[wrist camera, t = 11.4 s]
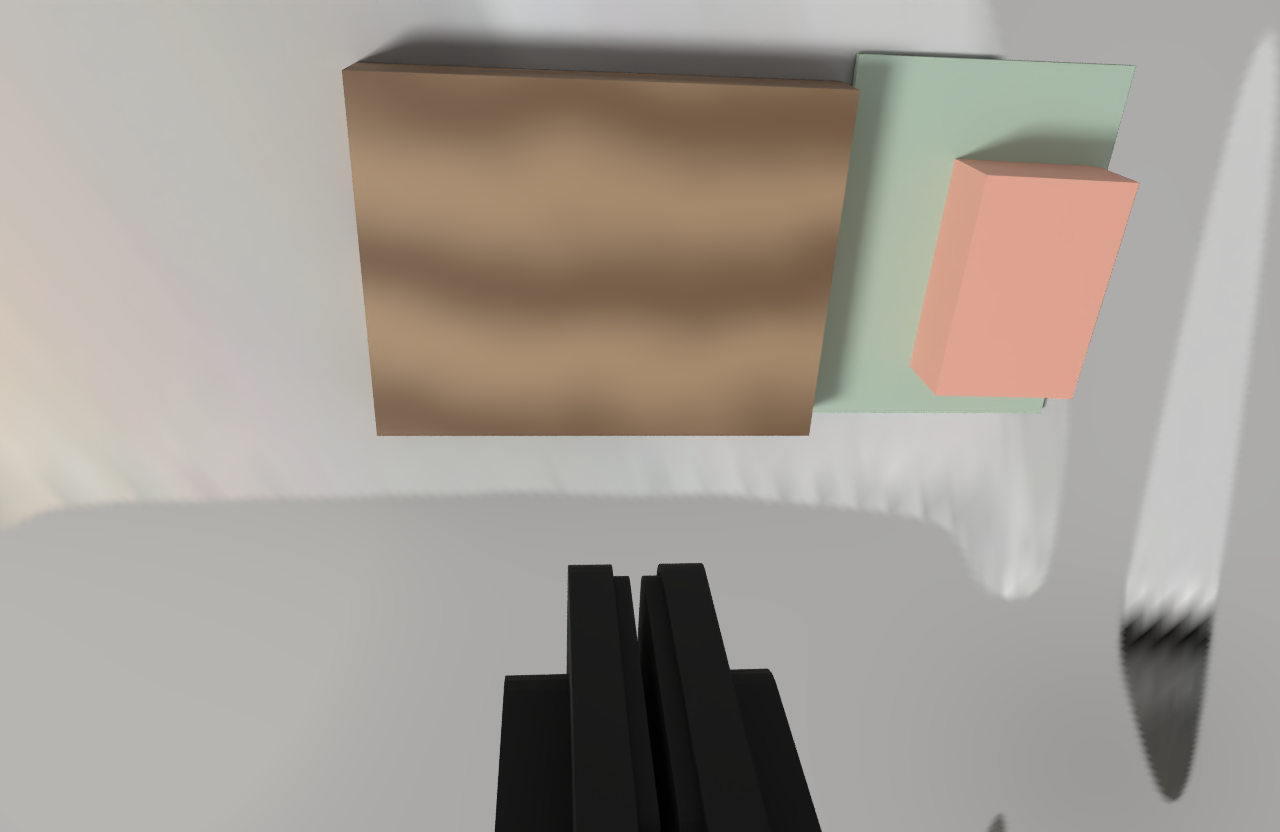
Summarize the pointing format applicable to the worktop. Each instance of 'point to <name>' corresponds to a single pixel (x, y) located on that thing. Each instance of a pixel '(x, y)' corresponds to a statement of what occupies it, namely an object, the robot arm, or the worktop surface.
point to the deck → (595, 248)
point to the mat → (938, 201)
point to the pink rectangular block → (1019, 277)
